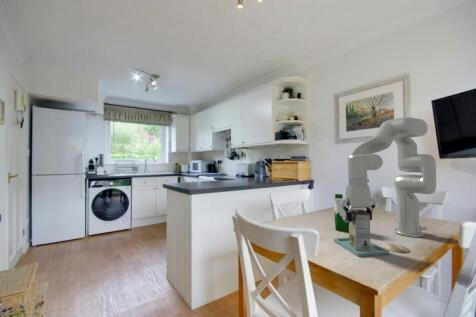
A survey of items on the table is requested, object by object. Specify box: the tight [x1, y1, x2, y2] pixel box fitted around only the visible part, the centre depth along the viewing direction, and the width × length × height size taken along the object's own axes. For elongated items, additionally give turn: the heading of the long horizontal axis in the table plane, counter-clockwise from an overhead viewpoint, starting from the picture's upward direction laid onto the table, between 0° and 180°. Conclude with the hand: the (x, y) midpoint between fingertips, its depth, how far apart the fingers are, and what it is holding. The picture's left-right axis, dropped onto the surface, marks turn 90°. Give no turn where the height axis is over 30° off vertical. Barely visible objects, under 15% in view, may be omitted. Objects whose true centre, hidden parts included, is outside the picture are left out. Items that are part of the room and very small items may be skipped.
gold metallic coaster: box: [383, 243, 410, 254], centre depth 100 cm, size 9×9×1 cm
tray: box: [333, 237, 390, 258], centre depth 102 cm, size 14×18×2 cm
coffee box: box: [348, 208, 371, 251], centre depth 101 cm, size 9×6×16 cm
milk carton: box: [333, 193, 349, 233], centre depth 129 cm, size 9×9×20 cm
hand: (359, 220), depth 101 cm, fingers open, 9 cm apart
